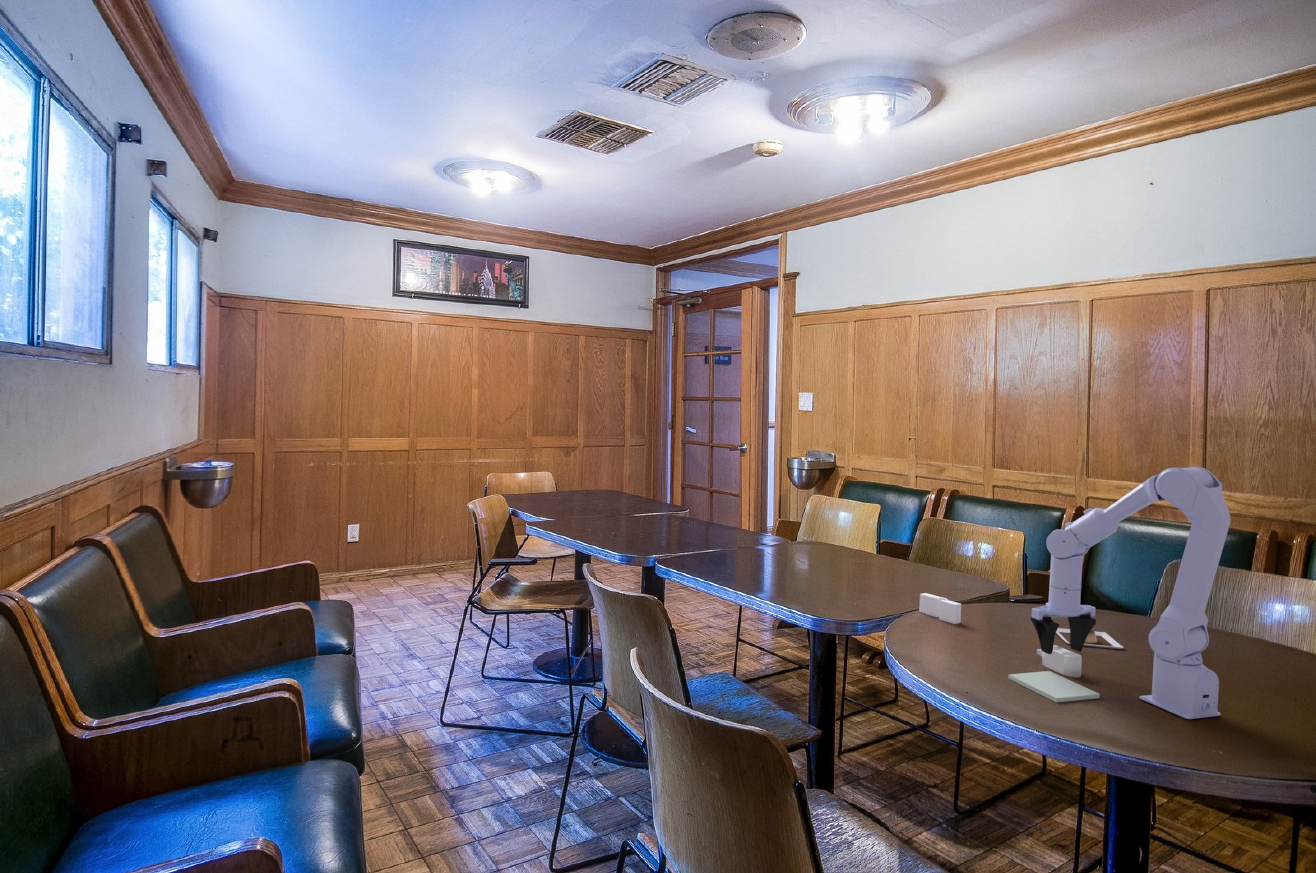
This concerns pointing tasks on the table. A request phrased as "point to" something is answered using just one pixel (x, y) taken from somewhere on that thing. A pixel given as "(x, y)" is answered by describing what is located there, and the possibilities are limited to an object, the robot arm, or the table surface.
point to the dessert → (1093, 638)
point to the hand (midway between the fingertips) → (1061, 651)
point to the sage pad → (1053, 686)
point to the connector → (1062, 661)
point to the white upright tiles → (940, 608)
